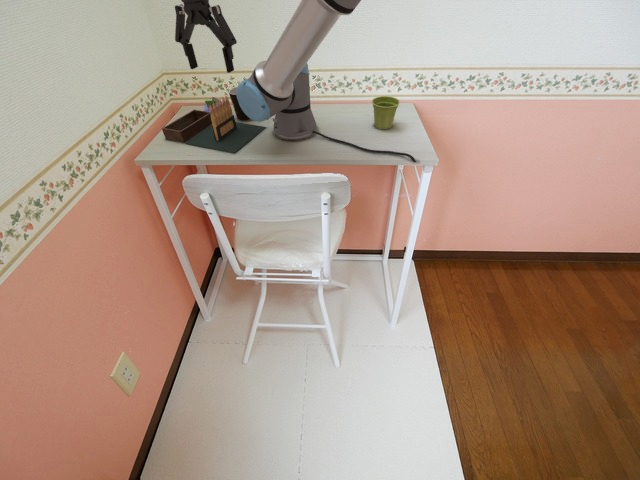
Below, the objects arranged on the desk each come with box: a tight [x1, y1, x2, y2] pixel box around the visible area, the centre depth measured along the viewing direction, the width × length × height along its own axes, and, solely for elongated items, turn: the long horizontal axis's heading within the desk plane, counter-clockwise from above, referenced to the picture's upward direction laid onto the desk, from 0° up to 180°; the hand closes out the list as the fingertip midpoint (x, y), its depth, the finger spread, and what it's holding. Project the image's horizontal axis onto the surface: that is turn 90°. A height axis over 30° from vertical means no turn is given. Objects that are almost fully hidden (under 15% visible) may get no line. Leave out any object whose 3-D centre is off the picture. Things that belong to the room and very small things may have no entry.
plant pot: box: [371, 95, 401, 130], centre depth 114 cm, size 9×9×9 cm
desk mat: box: [185, 121, 266, 155], centre depth 116 cm, size 20×20×1 cm
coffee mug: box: [228, 86, 252, 122], centre depth 125 cm, size 12×9×10 cm
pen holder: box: [161, 109, 212, 144], centre depth 119 cm, size 8×17×4 cm, turn 157°
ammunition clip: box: [209, 94, 237, 141], centre depth 112 cm, size 11×2×12 cm, turn 157°
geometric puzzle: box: [203, 96, 223, 112], centre depth 127 cm, size 7×7×8 cm
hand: (212, 69), depth 102 cm, fingers open, 13 cm apart
